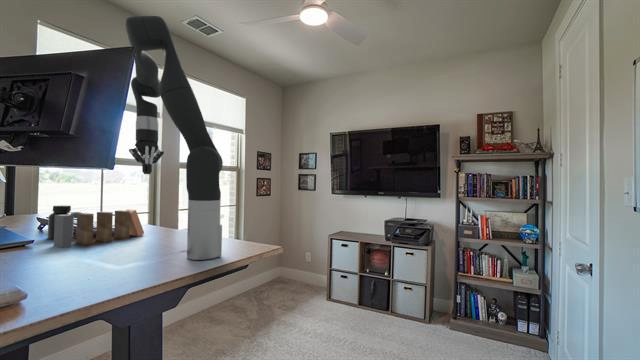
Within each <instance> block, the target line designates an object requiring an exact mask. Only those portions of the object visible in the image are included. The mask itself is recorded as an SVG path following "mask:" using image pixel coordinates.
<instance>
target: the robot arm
mask: <svg viewBox="0 0 640 360" xmlns="http://www.w3.org/2000/svg"><path fill="white" fill-rule="evenodd" d="M125 31H126V36H127V40H128V44H129V47H134V49H135V48H136V49H135V50H136V56H135V61H134V65H135V76H134V77H133V78H132V79H131V82H130V86H131V90H132V92H133V93H132V94H133V96H134V99H135V104H136V105H135V106H136V117H135V144H134V146H133V147H132V148H128V152H129V153H130V154H131V156H133V158H134V160H135V161H136V162H137V163H140V164H141V166H142V168H141V169H142V171H141V172H142V173H143V174H144V175H151V173H152V171H153V169H152V168H153V164H156V163H158V162H159V161H160V159H161V158H162V156H163V155H164V153H165V151H163V150H160V149H159V145H158V142H159V121H158V105H157V104H156V103H154V102H151V101H147V100H145V99H144V98H143V97H146V98H147V97H148V98H161V101H162V103H163V106H164V108H165V110H166V112H167V114H168V116H169V117H170V119H171V121H172V123H174V125H175V128H177V129H178V131H179V132H180V134H181V135H182V137H183V139H184V141H185V143H186V145H187V149H188V150H189V154H188V156H187V158H186V166H185V167H186V170H185V171H186V174H185V177H186V178H185V179H186V180H185V181H186V185H185V187H186V191H187V196H188V197H187V236H186V237H187V238H186V239H187V240H186V244H187V245H186V258H187V259H189V260H194V261H195V260H196V261H199V260H201V261H203V260H211V259H216V258H218V257H222V255H223V254H222V250H223V249H222V246H223V245H222V244H223V243H222V242H223V225H222V224H221V204H222V203H221V201H222V200H221V199H222V198H221V197H222V196H221V188H220V186H221V185H220V173H221V170H222V169H223V163H224V161H223V158H222V155H221V154H220V153H219V151H218V149H217V148H216V145H215V144H214V142H213V140H212V138H211V136H210V134H209V132H208V131H209V130H208V129H207V126H206V122H205V120H204V116H203V114H202V111H201V109H200V105H199V103H198V99H197V98H196V95H195V93H194V90H193V88H192V86H191V83H190V81H189V79H188V78H187V75H186V73H185V70H184V68H183V65H182V63H181V61H180V58H179V54H178V52H177V50H176V49H177V48H176V46H175V43H174V39H173V38H172V35H171V32H170V30H169V27H168V25H167V23H166V21H165V19H164V18H163V17H161V16H159V15H142V16H139V15H138V16H137V15H136V16H128V17H127V18H126V20H125ZM135 50H134V51H135ZM158 50H159V51H160V50H161V51H162V52H163V54H164V66H163V72H162V75H161V77H160V78H159V65H158V63H157V62H156V60H155V58H153V57H152V56H151V55H149V54H148V53H147V52H148V51H158Z"/></svg>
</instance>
